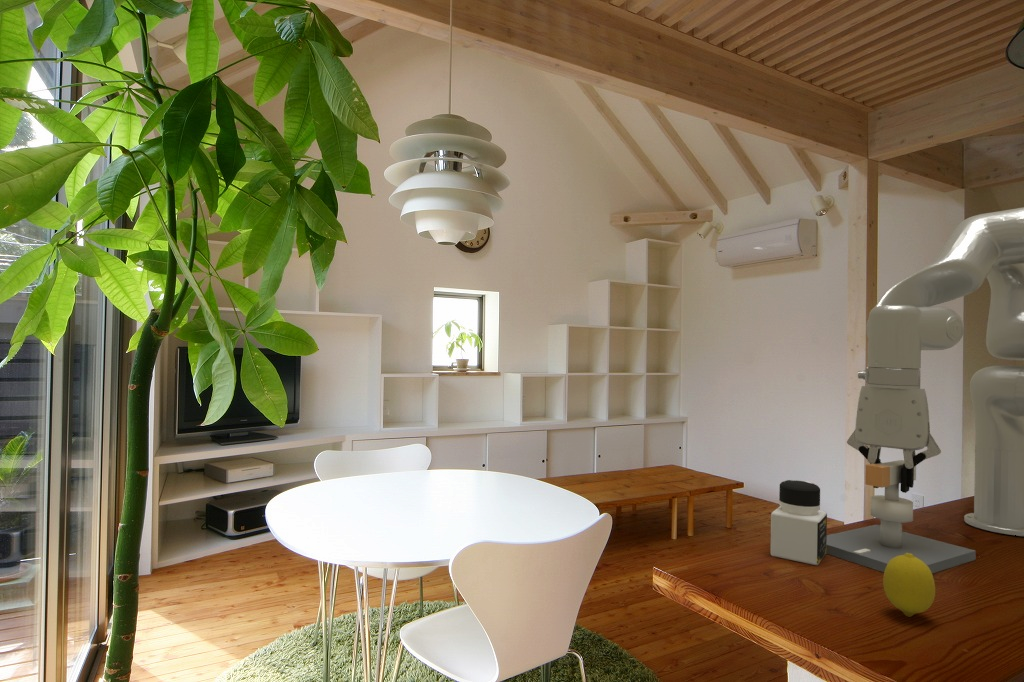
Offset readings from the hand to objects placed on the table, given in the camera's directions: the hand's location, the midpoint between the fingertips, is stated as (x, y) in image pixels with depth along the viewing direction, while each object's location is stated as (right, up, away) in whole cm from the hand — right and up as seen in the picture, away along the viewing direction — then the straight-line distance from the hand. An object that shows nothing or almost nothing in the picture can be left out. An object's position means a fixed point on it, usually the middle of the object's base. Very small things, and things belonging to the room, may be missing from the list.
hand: (891, 487), depth 100 cm
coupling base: (0, -11, 0) cm, 11 cm away
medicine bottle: (-16, -11, -2) cm, 20 cm away
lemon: (-13, -11, -24) cm, 29 cm away
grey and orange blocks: (0, -5, 0) cm, 5 cm away
